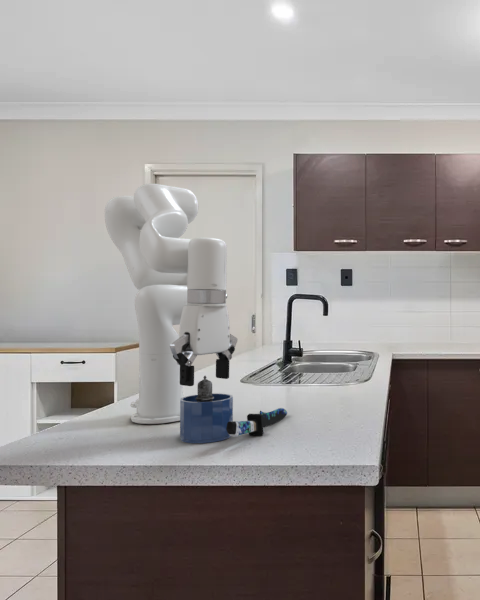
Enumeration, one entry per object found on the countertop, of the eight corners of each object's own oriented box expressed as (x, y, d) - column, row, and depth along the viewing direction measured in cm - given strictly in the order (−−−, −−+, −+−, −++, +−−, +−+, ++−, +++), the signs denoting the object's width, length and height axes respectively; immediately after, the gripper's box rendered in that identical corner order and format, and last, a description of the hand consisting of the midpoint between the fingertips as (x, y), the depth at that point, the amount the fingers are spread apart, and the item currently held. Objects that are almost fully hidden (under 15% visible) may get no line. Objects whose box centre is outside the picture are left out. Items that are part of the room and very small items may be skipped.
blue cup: (169, 440, 103) (169, 399, 103) (206, 428, 112) (206, 392, 112) (207, 445, 99) (207, 404, 99) (242, 433, 108) (242, 395, 108)
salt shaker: (226, 432, 107) (226, 374, 107) (206, 439, 101) (207, 378, 102) (202, 429, 109) (203, 372, 109) (182, 436, 103) (182, 376, 103)
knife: (231, 445, 94) (233, 420, 95) (216, 444, 95) (218, 419, 95) (296, 425, 124) (297, 406, 125) (285, 424, 125) (286, 405, 125)
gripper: (223, 298, 115) (221, 374, 116) (158, 298, 99) (156, 386, 100) (249, 299, 112) (248, 377, 113) (187, 299, 96) (185, 390, 97)
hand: (205, 381), depth 106 cm, fingers open, 9 cm apart
